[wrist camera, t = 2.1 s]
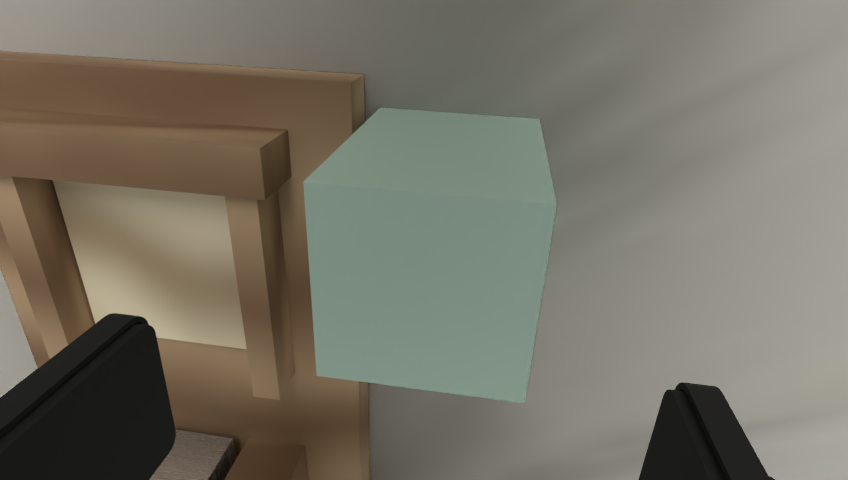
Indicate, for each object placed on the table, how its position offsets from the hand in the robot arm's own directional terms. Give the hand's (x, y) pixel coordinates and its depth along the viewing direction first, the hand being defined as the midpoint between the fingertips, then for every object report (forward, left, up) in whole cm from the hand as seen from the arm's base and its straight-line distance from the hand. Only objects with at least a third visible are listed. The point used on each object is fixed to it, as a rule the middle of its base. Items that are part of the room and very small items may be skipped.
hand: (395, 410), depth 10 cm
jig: (+9, -10, -9) cm, 16 cm away
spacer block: (-1, 0, -9) cm, 9 cm away
